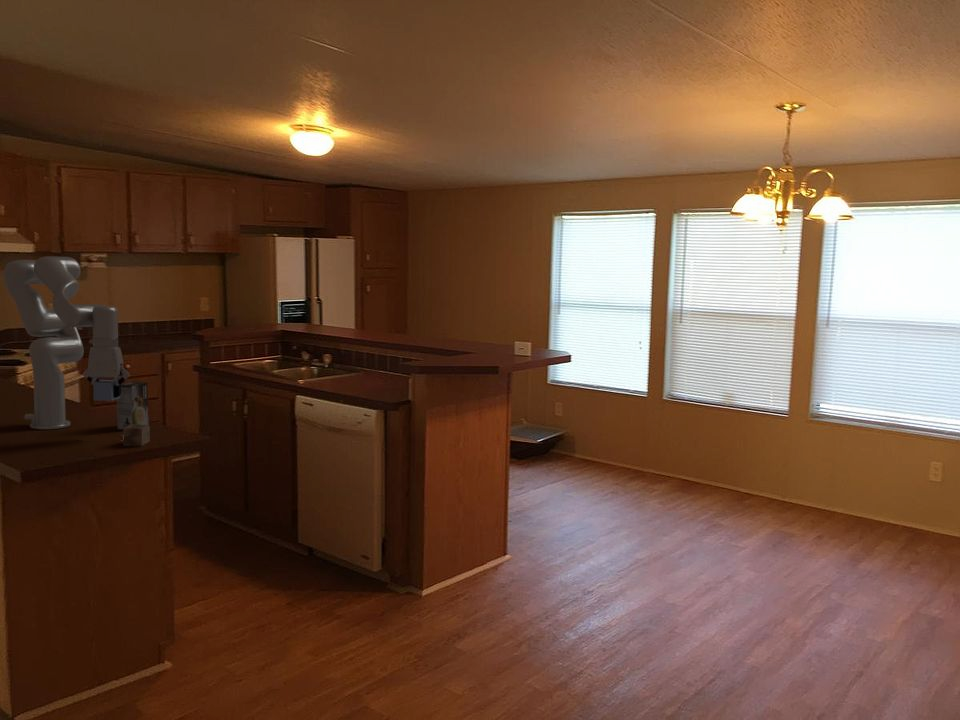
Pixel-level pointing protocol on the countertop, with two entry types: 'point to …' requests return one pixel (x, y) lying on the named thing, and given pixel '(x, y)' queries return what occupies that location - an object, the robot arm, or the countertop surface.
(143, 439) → the walnut block
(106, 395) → the blue cube
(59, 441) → the countertop surface
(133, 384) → the coffee box
